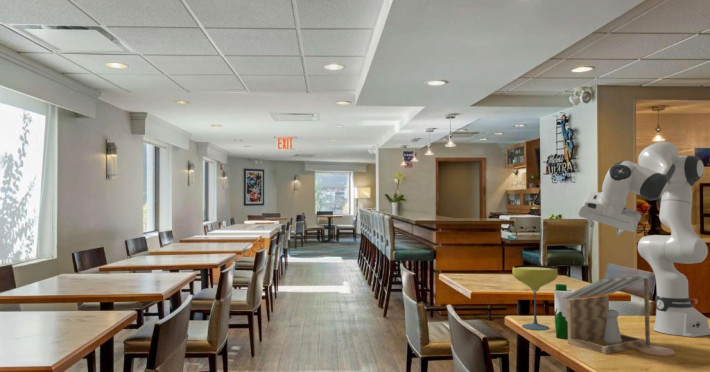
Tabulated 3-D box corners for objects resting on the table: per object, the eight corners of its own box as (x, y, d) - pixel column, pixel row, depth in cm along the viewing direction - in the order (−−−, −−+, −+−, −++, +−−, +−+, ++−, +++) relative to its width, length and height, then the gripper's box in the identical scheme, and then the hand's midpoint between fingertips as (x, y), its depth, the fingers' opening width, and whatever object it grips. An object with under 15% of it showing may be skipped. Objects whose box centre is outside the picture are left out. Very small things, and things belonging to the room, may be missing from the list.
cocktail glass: (509, 322, 223) (508, 265, 225) (551, 323, 222) (550, 265, 223) (518, 331, 205) (517, 269, 207) (564, 332, 204) (563, 270, 205)
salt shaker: (623, 349, 180) (622, 312, 181) (606, 348, 181) (605, 311, 182) (618, 344, 186) (617, 308, 186) (601, 343, 187) (601, 308, 187)
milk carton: (557, 333, 203) (556, 283, 204) (582, 336, 198) (581, 284, 199) (553, 338, 195) (552, 285, 196) (578, 341, 190) (577, 287, 192)
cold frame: (611, 335, 199) (610, 270, 200) (651, 345, 185) (649, 275, 186) (562, 344, 186) (561, 274, 187) (601, 355, 172) (599, 280, 173)
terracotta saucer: (657, 347, 183) (657, 344, 183) (682, 355, 172) (682, 353, 172) (630, 348, 181) (630, 346, 181) (653, 357, 170) (653, 354, 170)
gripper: (644, 207, 183) (635, 233, 192) (585, 191, 193) (579, 216, 202) (640, 218, 179) (631, 244, 188) (580, 201, 189) (574, 227, 198)
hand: (604, 230), depth 195 cm, fingers open, 8 cm apart
